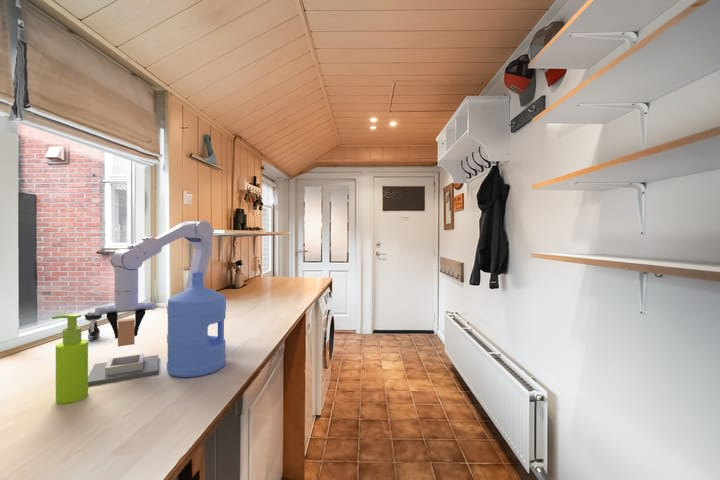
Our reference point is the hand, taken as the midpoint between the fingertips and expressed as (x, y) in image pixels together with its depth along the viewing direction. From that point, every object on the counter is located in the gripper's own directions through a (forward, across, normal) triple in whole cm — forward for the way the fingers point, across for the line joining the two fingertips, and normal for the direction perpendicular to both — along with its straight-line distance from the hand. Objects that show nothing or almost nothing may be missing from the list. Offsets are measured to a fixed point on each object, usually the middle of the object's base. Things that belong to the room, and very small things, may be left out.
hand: (126, 336), depth 100 cm
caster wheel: (+9, +10, -38) cm, 40 cm away
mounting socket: (+9, 0, +3) cm, 10 cm away
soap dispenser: (+9, +11, +16) cm, 21 cm away
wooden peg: (+2, 0, 0) cm, 2 cm away
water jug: (+9, -17, +12) cm, 23 cm away
